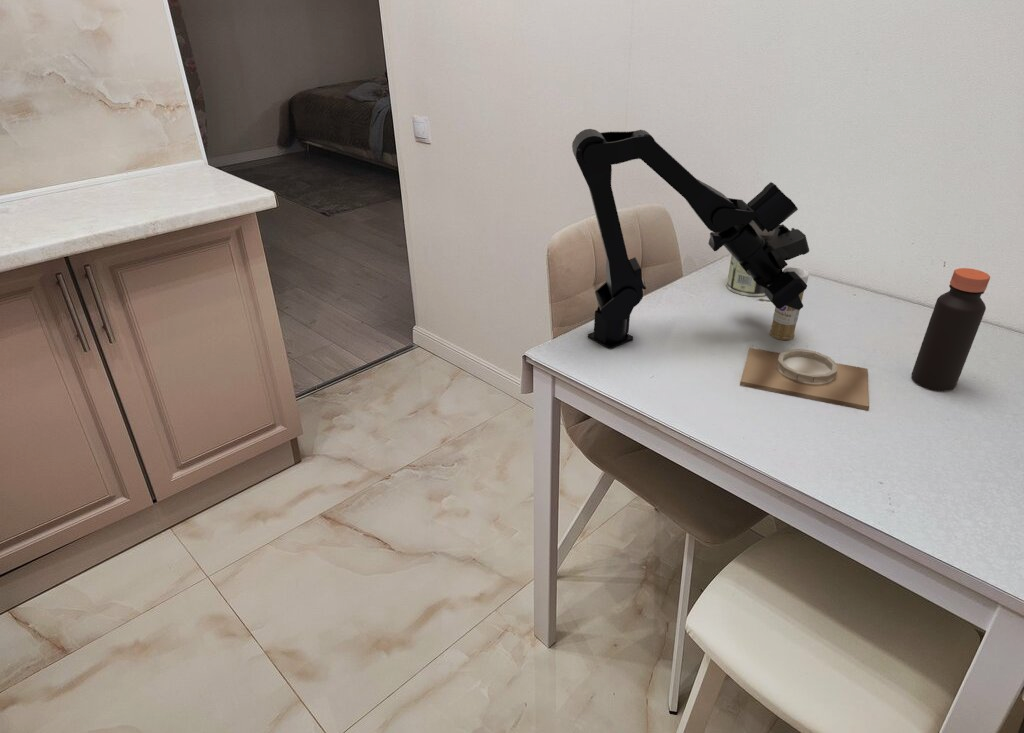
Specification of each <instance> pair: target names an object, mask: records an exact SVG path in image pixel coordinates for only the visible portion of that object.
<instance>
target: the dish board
mask: <svg viewBox="0 0 1024 733" xmlns="http://www.w3.org/2000/svg"><path fill="white" fill-rule="evenodd" d="M739 382H740V383H739V386H742V387H747V388H752V389H757V390H762V391H768V392H774V393H777V394H783V395H788V396H792V397H798V398H801V399H807V400H813V401H817V402H823V403H828V404H832V405H837V406H844V407H849V408H853V409H857V410H862V411H869V409H870V390H869V369H868V368H866V367H859V366H854V365H850V364H849V365H848V364H842V363H838V362H837V363H836V362H835V360H833V359H832V358H831V357H829V356H828V355H825V354H822V353H821V352H819V351H816V350H815V351H814V350H808V349H805V348H804V349H803V348H795V349H787V350H784V351H783V352H775V351H771V350H764V349H760V348H759V349H758V348H753V347H749V349H748V352H747V356H746V360H745V364H744V368H743V371H742V374H741V378H740V381H739Z"/></svg>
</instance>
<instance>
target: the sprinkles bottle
mask: <svg viewBox="0 0 1024 733" xmlns="http://www.w3.org/2000/svg"><path fill="white" fill-rule="evenodd" d="M782 271H783V272H787V271H788V272H792V271H794V272H795V273H796V274H797V275H798V276H799V277H800V278H801V279H802V280H803V281H804V282H805V283H806V284H807V283H808V280H809V272H808V271H806V270H805V269H803V268H800V267H799V268H798V267H787V268H783V270H782ZM804 292H805V290H804V291H803V292H802V293H800V294H799V297H800V299H801V301H802V302H803V299H804V297H803V296H804ZM800 310H801V309H800ZM800 310H797V309H794V308H791V307H789V306H786V305H785V306H784V307H782V308H779V309H777V308H776V307H775V306H774V311H773V315H772V316H773V317H772V319H773V320H772V323H771V328H770V330H769V336H771V337H772V338H774V339H777V340H781V341H789V340H791V339H793V338H794V337H795V331H796V326H797V323H798V319H799V315H800Z"/></svg>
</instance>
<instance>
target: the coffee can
mask: <svg viewBox="0 0 1024 733" xmlns="http://www.w3.org/2000/svg"><path fill="white" fill-rule="evenodd" d="M750 225H751V226H752V227H753V228H754V229H755V230H756V232H757V233H758V234H759V235H760V236H761V237H762V238H764V239H765V240H766V241H767V242H768V241H770V240H772V237H773V236H774V232H775V229H774V230H773V231H772V232H771V231H770V232H767V230H766V229H765V230H764V231H763V232H762V231H761V230H760V229H759V228H758V227H757V226H756V225H755V223H754V222H753V221H751V222H750ZM730 255H731V257H730V261H729V262H730V263H729V268H728V269H729V270H728V274H727V281H726V288H727V289H728V290H729V291H731V292H733V293H735V294H737V295H740V296H746V297H752V298H753V297H757V298H760V297H767V296H766V295H765V292H766V288H764V287H762V286H759V285H758V284H757V283H756V282H755V281H754V280H753V278H752V277H751V276H749V275H748V274H747V273H746V271H745V270H744V269H743V268H742V267H741V266H740V263H739V262H738V261H737V260H736V259H735V258H734V257H733V255H732V254H730Z"/></svg>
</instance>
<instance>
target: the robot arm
mask: <svg viewBox="0 0 1024 733" xmlns="http://www.w3.org/2000/svg"><path fill="white" fill-rule="evenodd" d="M571 146H572V147H571V148H572V153H573V156H574V158H575V160H576V163H577V165H578V167H579V169H580V171H581V174H582V176H583V178H584V180H585V182H586V184H587V187H588V190H589V194H590V196H591V200H592V205H593V209H594V213H595V217H596V221H597V225H598V229H599V233H600V236H601V240H602V245H603V249H604V252H605V258H606V259H605V260H606V263H605V266H606V267H605V269H606V270H605V273H606V281H605V282H603V284H602V285H601V286H600V287H598V288H597V289H596V290H595V291H594V294H595V297H596V301H597V304H598V306H597V308H596V310H595V311H594V321H593V323H594V324H593V332H590V333H588V334H587V338H589V339H591V340H592V341H595V342H596V343H598V344H600V345H602V346H603V347H606V348H607V349H614V348H617V347H618V346H621V345H623V344H626V343H628V342H630V341H633V340H634V336H633V335H631V334H629V331H630V330H629V329H630V318H631V314H632V312H633V310H634V308H635V307H636V306H638V305H639V304H640V302H642V300H643V297H644V291H643V290H646V289H647V287H646V285H645V283H644V281H643V273H642V271H643V270H642V267H641V265H640V263H639V262H638V259H637V258H636V256H635V257H632V258H631V259H629V257H628V252H627V248H626V244H625V240H624V235H623V230H622V226H621V221H620V218H619V213H618V209H617V206H616V201H615V196H614V192H613V187H612V174H613V173H612V171H613V168H612V165H619V164H622V163H626V162H629V161H633V160H634V161H635V160H641V161H642V162H644V163H645V164H646V165H647V166H648V167H649V168H650V169H651V170H652V171H654V172H655V174H657V175H658V176H659V177H661V179H663V181H665V182H666V183H667V184H668V185H669V186H670V187H672V189H674V190H675V191H676V192H677V193H678V194H680V196H681V197H682V198H684V199H685V201H686V202H687V204H688V205H689V207H690V208H691V209H692V211H693V212H694V213H695V214H696V216H697V217H698V219H700V221H701V223H703V224H704V225H705V226H706V228H707V229H708V230H709V231H710V233H709V240H708V245H709V247H710V248H711V249H712V251H713V252H717V251H719V249H721V248H722V247H724V248H725V249H726V250H727V251H728V252H729V254H730V255H733V257H734V258H735V259H736V260H737V261H738V262H739V263H740V266H741V267H742V268H743V269H744V270H745V271H746V273H747V274H748V275H749V276H751V277H752V278H753V280H754V281H755V282H756V283H757V284H758V285H759V286H762V287H764V288H766V292H765V295H766V296H765V297H766V298H767V299H768V300H769V301H770V302H771V303H772V304H773V305H774V308H775V307H776V308H777V309H779V308H782V307H784V306H785V305H786V306H789V307H791V308H794V309H797V310H801V309H803V308H804V304H803V300H802V301H801V299H800V297H799V294H800V293H802V292H803V291H804V292H805V291H806V289H807V287H808V285H807V283H805V282H804V281H803V280H802V279H801V278H800V277H799V276H798V275H797V274H796V273H795V272H794V271H792V272H788V271H787V272H783V270H784V269H785V267H787V266H788V263H787V262H786V261H789V260H790V261H791V260H792V259H794V258H797V257H800V256H801V255H804V256H805V255H806V254H808V253H809V252H810V248H809V244H808V239H807V236H806V234H805V233H803V231H802V230H800V229H799V228H795V227H792V228H791V229H789V228H788V227H787V226H786V225H784V224H783V223H784V222H785V221H786V220H787V219H789V218H790V217H791V216H792V215H793V214H794V213H796V212H797V211H798V210H799V208H798V207H797V206H796V204H795V203H794V202H793V201H792V199H791V198H789V196H787V195H786V194H785V193H784V192H783V191H782V190H780V188H779V187H778V186H777V184H775V183H773V182H771V181H770V182H769V183H768V184H767V185H765V187H764V188H763V189H762V190H761V191H760V192H758V194H757V195H755V196H754V197H753V198H752V199H751V200H749V201H748V202H747V203H746V201H744V200H743V199H740V198H739V199H738V198H733V197H732V198H731V197H728V196H726V195H725V194H723V193H722V192H721V191H719V190H717V189H715V188H714V187H712V186H710V185H708V184H707V183H705V182H703V181H702V180H700V179H698V178H696V177H695V176H694V175H693V173H692V174H691V172H690V171H689V170H687V168H685V167H684V166H683V165H682V164H681V163H680V162H679V161H678V160H676V158H674V157H673V155H671V154H670V153H669V152H668V151H667V150H666V149H665V148H663V147H662V146H661V145H660V144H659V143H658V142H657V141H656V139H655V138H654V137H653V136H652V135H651V134H650V133H649V132H648V131H647V130H645V129H638V130H633V131H632V130H631V131H603V132H600V131H598V130H597V129H592V128H588V129H584V130H581V131H579V132H578V133H577V134H576V135H575V137H574V139H573V141H572V144H571ZM751 221H753V222H754V223H755V225H756V226H757V227H758V228H759V229H760V230H761V231H762V232H763V231H764V230H765V229H766V230H767V232H770V231H771V232H772V231H773V230H774V229H775V232H774V236H773V237H772V240H770V241H768V242H767V241H766V240H765V239H764V238H762V237H761V236H760V235H759V234H758V233H757V232H756V230H755V229H754V228H753V227H752V226H751V225H750V222H751Z"/></svg>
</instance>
